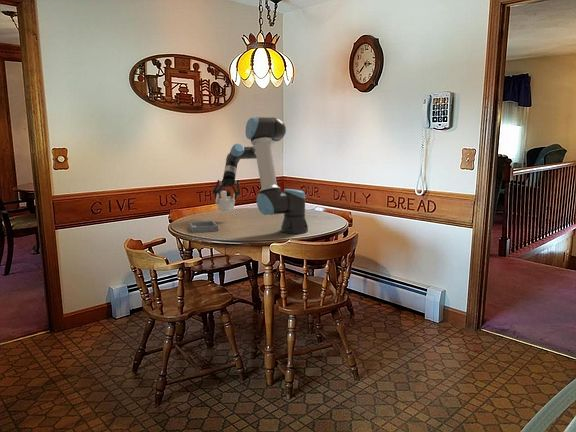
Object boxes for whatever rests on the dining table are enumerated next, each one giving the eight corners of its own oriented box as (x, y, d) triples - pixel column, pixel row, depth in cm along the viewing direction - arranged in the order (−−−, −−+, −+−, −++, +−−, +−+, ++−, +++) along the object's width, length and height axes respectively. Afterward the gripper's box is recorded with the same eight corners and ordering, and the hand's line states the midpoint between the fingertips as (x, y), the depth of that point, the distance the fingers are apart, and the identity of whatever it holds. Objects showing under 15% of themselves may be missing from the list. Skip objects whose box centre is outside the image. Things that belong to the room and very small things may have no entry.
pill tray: (218, 230, 252) (217, 225, 251) (192, 232, 247) (192, 227, 246) (213, 225, 265) (213, 220, 264) (189, 227, 260) (188, 222, 259)
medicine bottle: (226, 208, 280) (225, 189, 278) (234, 209, 276) (234, 190, 273) (217, 210, 275) (217, 190, 272) (225, 211, 270) (225, 191, 268)
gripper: (248, 178, 286) (243, 207, 273) (213, 177, 288) (207, 206, 275) (246, 170, 280) (242, 199, 267) (211, 170, 281) (205, 199, 269)
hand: (224, 203), depth 271 cm, fingers closed on medicine bottle, 10 cm apart
